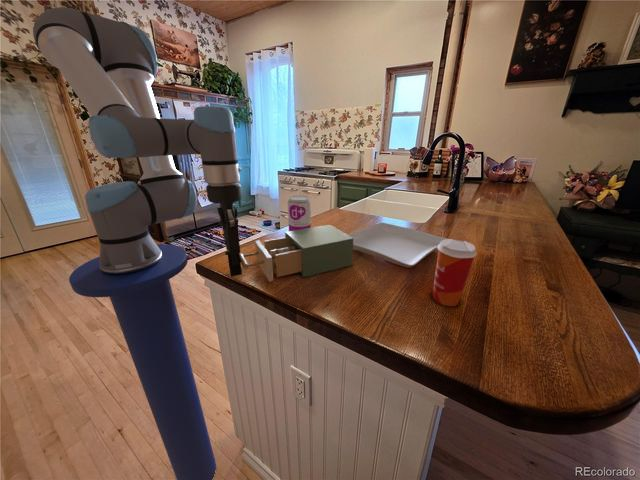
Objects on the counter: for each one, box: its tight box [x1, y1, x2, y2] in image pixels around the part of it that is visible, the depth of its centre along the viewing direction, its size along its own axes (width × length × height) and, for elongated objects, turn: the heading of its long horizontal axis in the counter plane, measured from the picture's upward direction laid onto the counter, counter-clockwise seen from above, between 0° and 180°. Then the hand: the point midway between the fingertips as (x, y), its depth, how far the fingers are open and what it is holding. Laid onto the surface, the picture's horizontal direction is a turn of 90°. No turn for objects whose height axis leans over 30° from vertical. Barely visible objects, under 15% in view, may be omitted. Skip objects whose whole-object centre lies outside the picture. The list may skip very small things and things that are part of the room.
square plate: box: [347, 221, 447, 269], centre depth 86 cm, size 27×27×4 cm
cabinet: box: [284, 224, 354, 278], centre depth 76 cm, size 16×14×9 cm
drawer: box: [239, 236, 303, 283], centre depth 71 cm, size 20×12×7 cm, turn 117°
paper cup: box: [432, 238, 478, 307], centre depth 58 cm, size 8×8×14 cm
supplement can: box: [287, 195, 312, 231], centre depth 94 cm, size 8×8×15 cm
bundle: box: [269, 246, 296, 268], centre depth 72 cm, size 7×5×5 cm
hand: (236, 274), depth 67 cm, fingers closed
